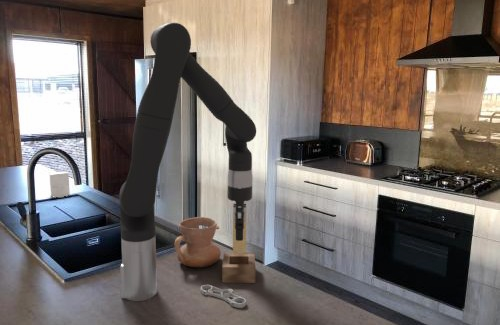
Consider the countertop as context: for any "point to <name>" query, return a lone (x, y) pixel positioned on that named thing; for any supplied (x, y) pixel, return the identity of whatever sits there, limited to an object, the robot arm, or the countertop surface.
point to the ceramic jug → (197, 242)
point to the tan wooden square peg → (239, 246)
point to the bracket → (226, 295)
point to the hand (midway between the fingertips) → (239, 237)
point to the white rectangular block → (59, 184)
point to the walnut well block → (238, 268)
